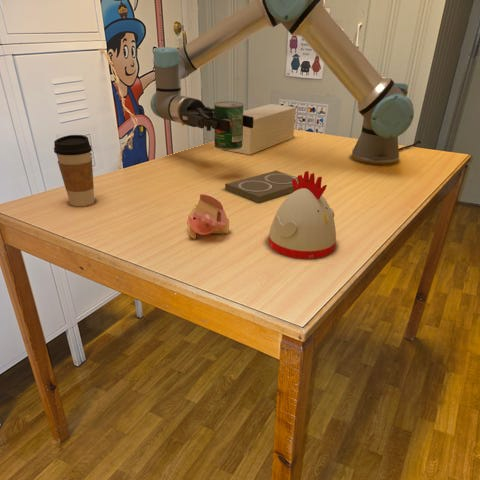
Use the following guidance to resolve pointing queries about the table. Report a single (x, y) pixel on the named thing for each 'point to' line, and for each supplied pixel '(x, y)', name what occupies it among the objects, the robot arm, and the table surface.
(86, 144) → the coffee cup
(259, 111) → the beige rectangular block
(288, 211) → the kitchen timer
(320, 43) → the robot arm
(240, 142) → the canned tomato
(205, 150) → the table surface
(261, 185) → the hob
